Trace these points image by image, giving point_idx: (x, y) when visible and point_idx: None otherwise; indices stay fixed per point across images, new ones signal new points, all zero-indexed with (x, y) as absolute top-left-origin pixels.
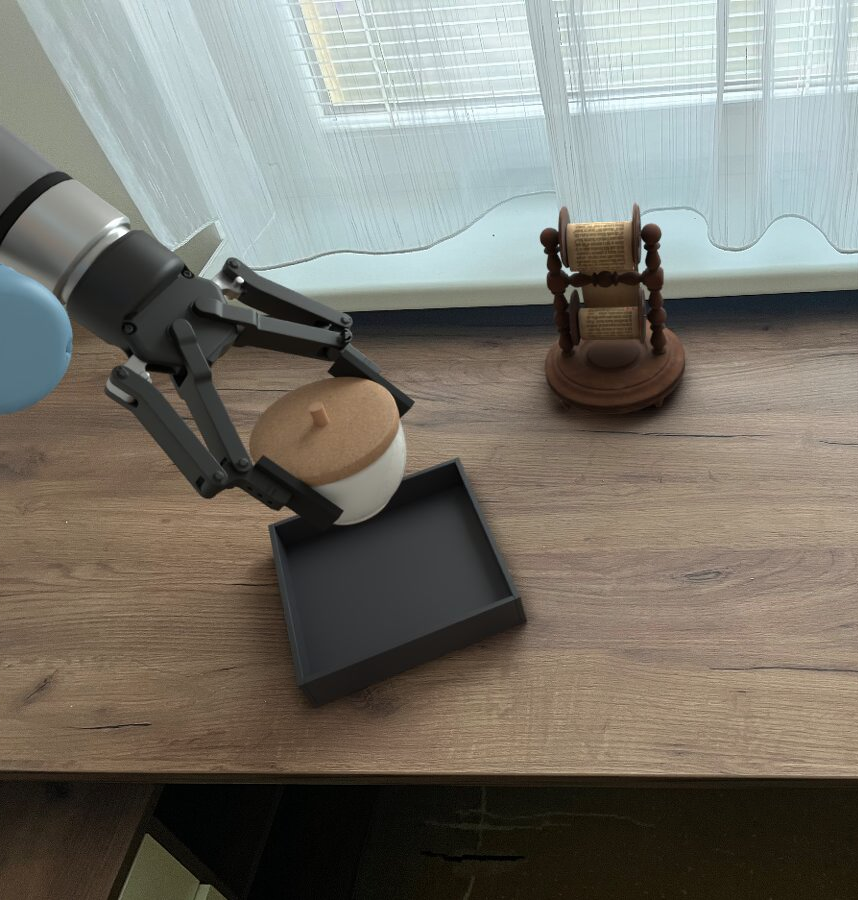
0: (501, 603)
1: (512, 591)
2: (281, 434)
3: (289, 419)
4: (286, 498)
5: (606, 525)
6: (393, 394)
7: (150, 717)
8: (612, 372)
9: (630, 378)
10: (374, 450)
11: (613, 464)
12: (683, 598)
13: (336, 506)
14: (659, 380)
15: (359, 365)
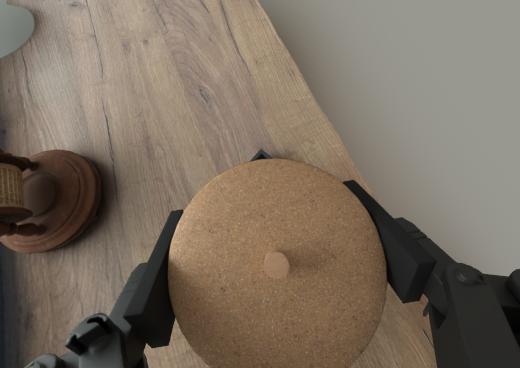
0: (269, 156)
1: (259, 154)
2: (324, 308)
3: (292, 321)
4: (397, 221)
5: (188, 150)
6: (175, 226)
7: (420, 333)
8: (60, 188)
9: (65, 171)
10: (287, 159)
11: (141, 167)
12: (220, 98)
13: (347, 186)
14: (65, 155)
15: (149, 278)
